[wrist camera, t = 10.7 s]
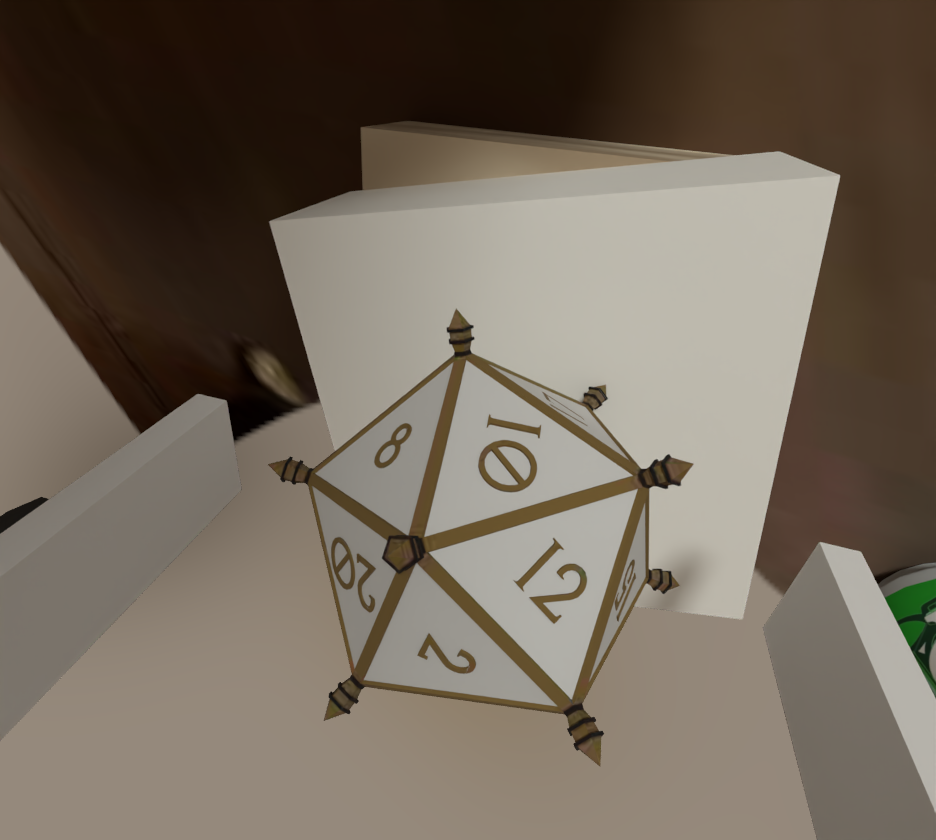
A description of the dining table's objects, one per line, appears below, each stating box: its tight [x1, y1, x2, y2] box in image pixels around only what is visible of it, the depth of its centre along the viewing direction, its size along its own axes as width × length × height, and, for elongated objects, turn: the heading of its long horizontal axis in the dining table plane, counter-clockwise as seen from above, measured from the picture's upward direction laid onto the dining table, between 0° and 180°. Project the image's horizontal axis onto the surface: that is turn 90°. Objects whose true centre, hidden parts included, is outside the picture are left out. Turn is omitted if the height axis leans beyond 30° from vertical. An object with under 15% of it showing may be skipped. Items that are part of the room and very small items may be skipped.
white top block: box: [269, 152, 840, 619], centre depth 17 cm, size 13×13×5 cm
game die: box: [268, 309, 694, 766], centre depth 12 cm, size 9×8×10 cm
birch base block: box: [361, 121, 734, 190], centre depth 22 cm, size 14×14×5 cm
